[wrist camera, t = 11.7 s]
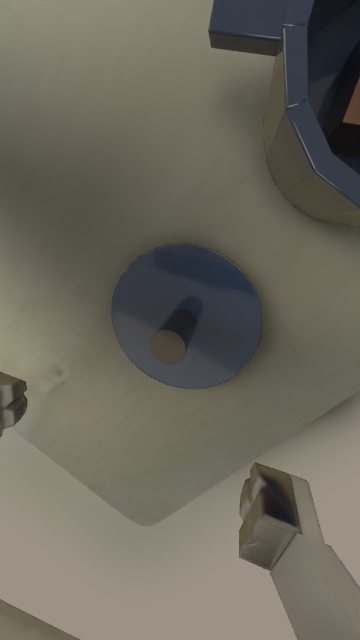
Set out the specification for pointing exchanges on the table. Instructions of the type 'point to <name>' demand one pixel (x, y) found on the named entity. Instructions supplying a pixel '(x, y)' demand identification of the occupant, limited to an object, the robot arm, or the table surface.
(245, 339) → the lid
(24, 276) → the table surface
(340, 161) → the pot
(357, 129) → the block
